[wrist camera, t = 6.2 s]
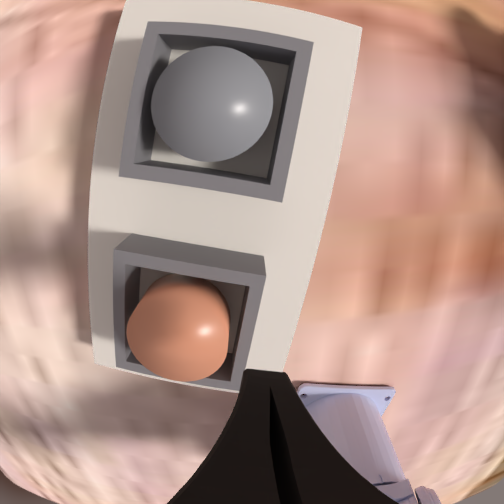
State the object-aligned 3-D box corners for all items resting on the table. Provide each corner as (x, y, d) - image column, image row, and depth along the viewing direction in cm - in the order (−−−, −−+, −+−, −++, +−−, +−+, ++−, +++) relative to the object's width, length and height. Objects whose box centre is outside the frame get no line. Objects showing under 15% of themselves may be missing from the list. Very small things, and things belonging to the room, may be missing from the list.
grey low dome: (258, 166, 14) (260, 171, 12) (159, 151, 14) (142, 153, 12) (277, 70, 13) (283, 56, 10) (177, 56, 12) (163, 41, 10)
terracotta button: (223, 357, 17) (220, 388, 14) (141, 341, 16) (127, 370, 14) (237, 282, 15) (235, 307, 13) (143, 265, 15) (126, 287, 13)
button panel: (272, 377, 21) (276, 425, 17) (104, 346, 20) (80, 387, 16) (350, 38, 14) (380, 11, 10) (139, 8, 13) (110, -23, 9)
